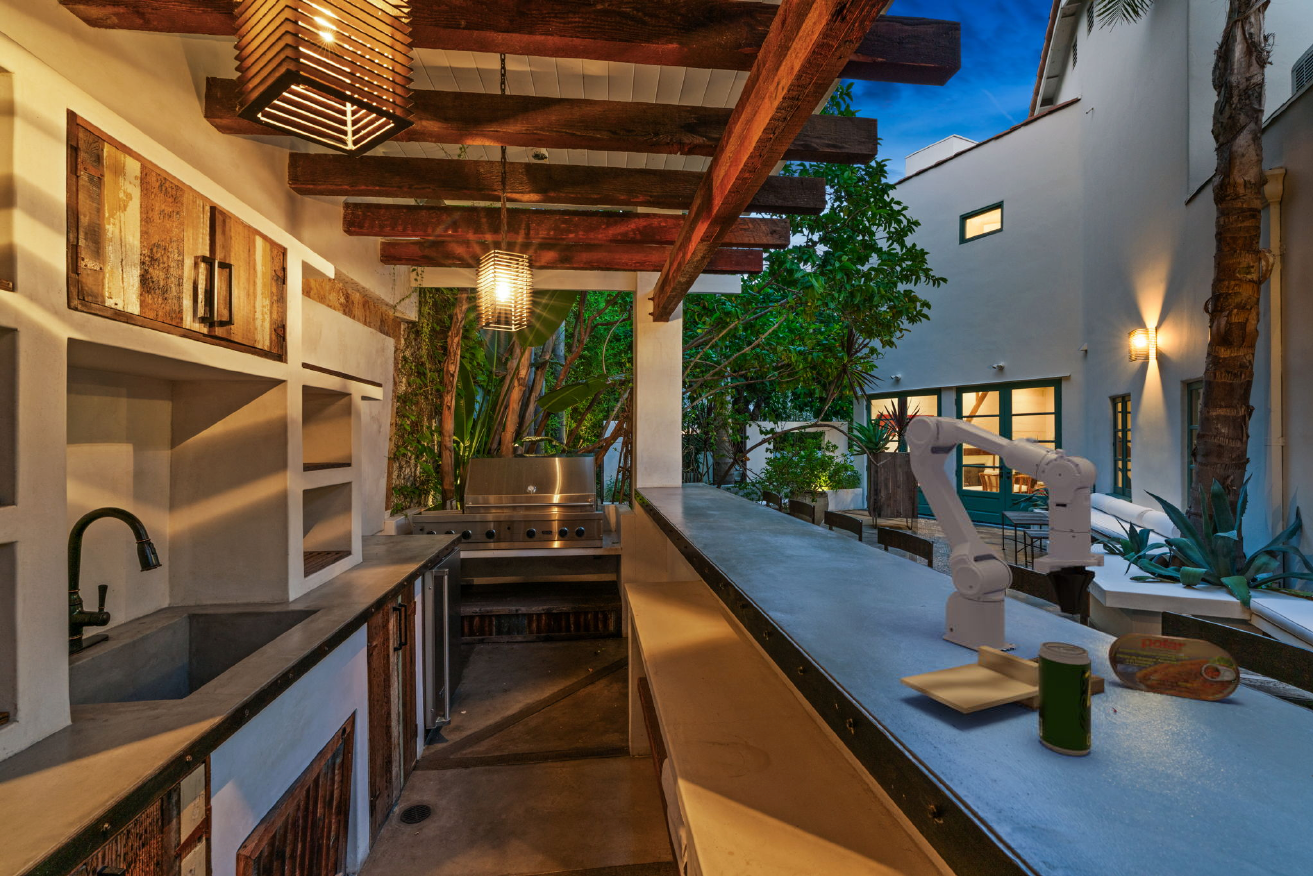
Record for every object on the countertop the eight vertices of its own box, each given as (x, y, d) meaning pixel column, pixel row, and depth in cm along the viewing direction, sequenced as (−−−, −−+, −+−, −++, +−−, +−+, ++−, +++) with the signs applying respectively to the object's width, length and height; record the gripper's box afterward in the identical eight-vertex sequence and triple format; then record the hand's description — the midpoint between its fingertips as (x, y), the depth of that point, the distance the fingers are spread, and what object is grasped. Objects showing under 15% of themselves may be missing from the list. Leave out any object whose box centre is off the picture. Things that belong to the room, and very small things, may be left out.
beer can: (1046, 753, 73) (1045, 653, 73) (1033, 733, 78) (1032, 639, 78) (1098, 760, 71) (1098, 658, 71) (1081, 739, 76) (1081, 643, 77)
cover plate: (900, 683, 88) (900, 659, 88) (981, 666, 95) (981, 643, 95) (964, 713, 78) (964, 686, 79) (1049, 692, 85) (1049, 667, 85)
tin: (1110, 687, 93) (1110, 631, 93) (1106, 679, 96) (1106, 626, 96) (1241, 707, 86) (1241, 647, 86) (1233, 698, 89) (1232, 641, 89)
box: (970, 684, 94) (970, 671, 94) (1039, 669, 100) (1038, 657, 100) (1033, 710, 84) (1033, 696, 84) (1104, 691, 91) (1104, 678, 91)
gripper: (1064, 536, 93) (1064, 625, 93) (1123, 531, 99) (1124, 614, 99) (1021, 530, 100) (1021, 613, 100) (1079, 525, 105) (1079, 604, 105)
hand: (1069, 613), depth 100 cm, fingers closed
